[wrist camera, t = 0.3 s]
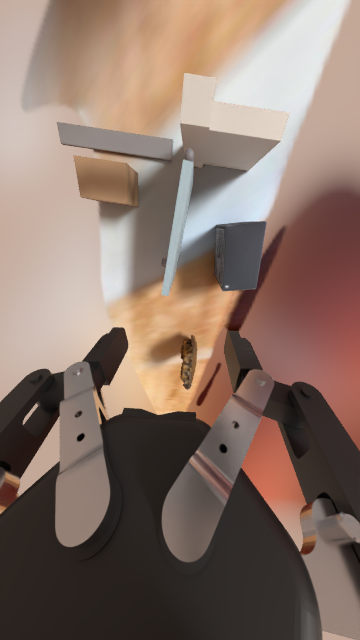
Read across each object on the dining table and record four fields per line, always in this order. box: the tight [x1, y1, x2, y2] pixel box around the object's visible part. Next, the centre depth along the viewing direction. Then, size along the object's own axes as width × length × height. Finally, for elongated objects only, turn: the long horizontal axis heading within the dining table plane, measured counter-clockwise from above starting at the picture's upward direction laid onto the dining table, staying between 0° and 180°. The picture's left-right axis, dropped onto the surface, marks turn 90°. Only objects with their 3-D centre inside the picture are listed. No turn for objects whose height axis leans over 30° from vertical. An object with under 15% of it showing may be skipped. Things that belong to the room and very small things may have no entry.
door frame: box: [57, 73, 290, 171], centre depth 21 cm, size 3×32×14 cm, turn 83°
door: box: [161, 148, 194, 296], centre depth 27 cm, size 3×18×12 cm, turn 168°
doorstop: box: [74, 156, 138, 207], centre depth 27 cm, size 5×8×6 cm, turn 83°
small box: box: [215, 221, 267, 291], centre depth 30 cm, size 11×6×10 cm, turn 6°
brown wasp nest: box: [180, 335, 197, 389], centre depth 42 cm, size 11×4×15 cm, turn 175°
